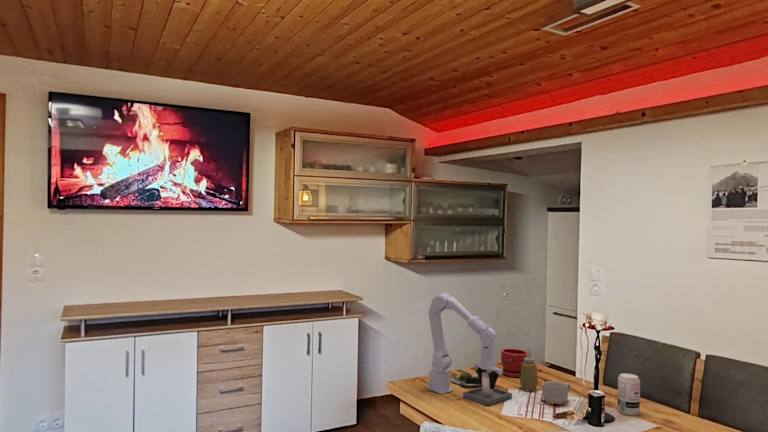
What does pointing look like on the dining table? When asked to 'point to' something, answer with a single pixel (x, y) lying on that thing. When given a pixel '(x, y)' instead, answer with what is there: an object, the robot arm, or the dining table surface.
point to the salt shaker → (486, 384)
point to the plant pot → (512, 361)
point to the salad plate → (466, 380)
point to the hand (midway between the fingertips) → (487, 387)
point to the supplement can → (629, 394)
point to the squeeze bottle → (529, 373)
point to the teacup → (555, 392)
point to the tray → (485, 400)
